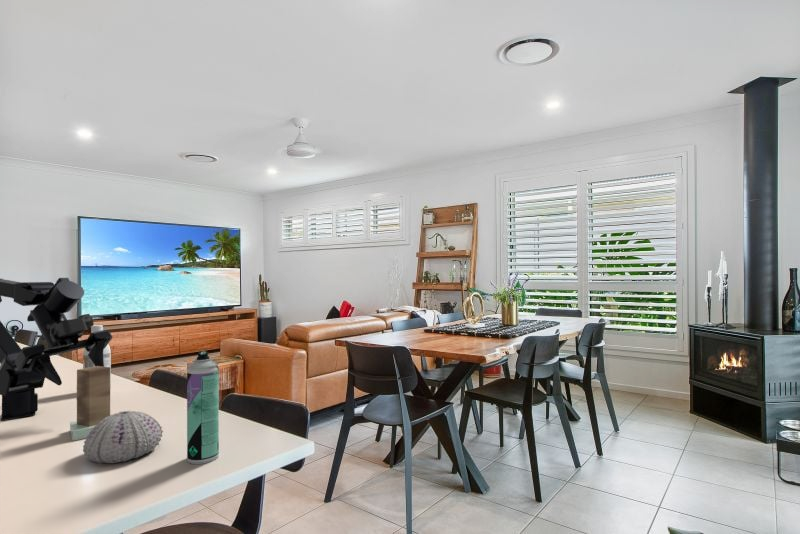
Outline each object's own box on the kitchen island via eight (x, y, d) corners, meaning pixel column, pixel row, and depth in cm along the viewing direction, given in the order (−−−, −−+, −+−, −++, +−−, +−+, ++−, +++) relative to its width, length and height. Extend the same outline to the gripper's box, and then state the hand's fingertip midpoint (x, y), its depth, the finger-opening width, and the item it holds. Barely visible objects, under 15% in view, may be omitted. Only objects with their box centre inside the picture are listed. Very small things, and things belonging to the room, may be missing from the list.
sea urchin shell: (177, 444, 92) (177, 405, 93) (121, 472, 79) (121, 426, 80) (126, 438, 96) (125, 401, 96) (63, 464, 83) (63, 421, 83)
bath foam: (84, 390, 137) (84, 325, 138) (111, 387, 140) (111, 323, 141) (81, 395, 131) (81, 327, 131) (109, 392, 134) (109, 325, 135)
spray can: (209, 450, 89) (209, 348, 89) (224, 457, 85) (224, 351, 86) (181, 459, 84) (181, 352, 85) (195, 466, 81) (195, 355, 81)
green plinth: (73, 440, 95) (73, 431, 95) (70, 430, 101) (70, 421, 101) (117, 431, 100) (117, 422, 100) (112, 423, 106) (112, 414, 106)
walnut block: (76, 424, 99) (76, 369, 100) (97, 418, 103) (97, 365, 104) (89, 426, 97) (89, 371, 98) (110, 420, 102) (110, 367, 102)
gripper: (17, 312, 97) (48, 371, 94) (106, 298, 114) (135, 348, 110) (2, 341, 102) (31, 398, 98) (89, 324, 118) (117, 372, 115)
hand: (82, 377), depth 105 cm, fingers open, 9 cm apart
